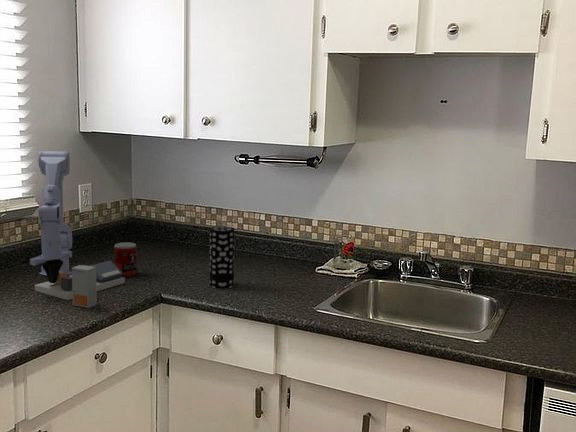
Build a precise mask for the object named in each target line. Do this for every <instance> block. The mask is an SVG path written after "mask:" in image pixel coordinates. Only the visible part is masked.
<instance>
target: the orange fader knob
mask: <svg viewBox="0 0 576 432" xmlns="http://www.w3.org/2000/svg"><path fill="white" fill-rule="evenodd" d="M62 277H66V272H63V271H59V273H58V277H57V281H56V283H57V284H61V278H62Z"/></svg>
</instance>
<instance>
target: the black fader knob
mask: <svg viewBox="0 0 576 432" xmlns="http://www.w3.org/2000/svg"><path fill="white" fill-rule="evenodd" d="M69 276H70V275H68V276H66V277H62V278H61V289H65V290H71V289H72V277H69Z"/></svg>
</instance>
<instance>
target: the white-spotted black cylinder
mask: <svg viewBox="0 0 576 432" xmlns="http://www.w3.org/2000/svg"><path fill="white" fill-rule="evenodd" d="M234 276H235V228H234V227H231V226H222V225H221V226H212V227H210V228H209V287H210V288H213V289H217V290H225V289H231V288H233V287H234V285H235V283H234V282H235V281H234V280H235V277H234Z"/></svg>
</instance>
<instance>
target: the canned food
mask: <svg viewBox="0 0 576 432" xmlns="http://www.w3.org/2000/svg"><path fill="white" fill-rule="evenodd" d="M113 251H114V253H113V255H114V265H115V266H116V267H117V268H118V269H119V270H120V271H121V272H122V275H121V276H123V277H125V278H130V277H134V276H135V275H137V272H138V271H137V270H138V267H137V265H138V264H137V263H138V262H137V256H138V254H137V244H136V243H134V242H128V241H127V242H118V243H115V244H114V249H113Z"/></svg>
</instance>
